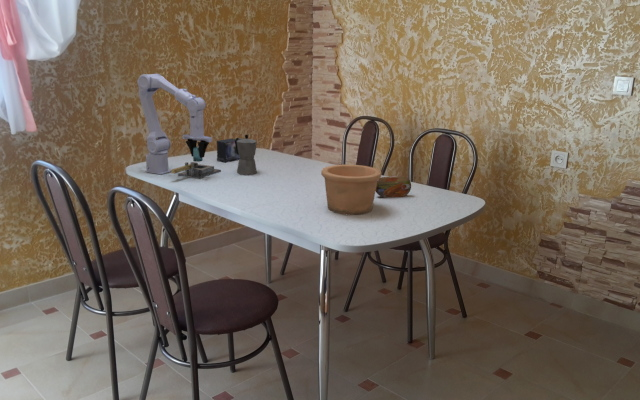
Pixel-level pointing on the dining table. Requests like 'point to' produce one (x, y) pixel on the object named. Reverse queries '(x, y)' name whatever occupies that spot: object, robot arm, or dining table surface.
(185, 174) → the dock
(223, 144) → the small box
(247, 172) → the coffeepot
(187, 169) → the pin
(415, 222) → the dining table surface
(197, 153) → the teal glass cylinder
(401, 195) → the tin
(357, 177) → the pottery
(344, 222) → the dining table surface
